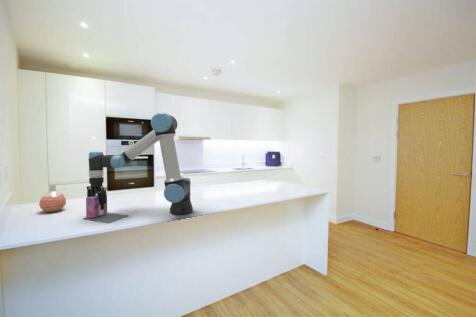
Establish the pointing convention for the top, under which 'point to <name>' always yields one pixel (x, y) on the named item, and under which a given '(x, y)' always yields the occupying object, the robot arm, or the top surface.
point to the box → (93, 206)
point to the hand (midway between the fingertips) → (97, 214)
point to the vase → (52, 200)
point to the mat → (107, 217)
